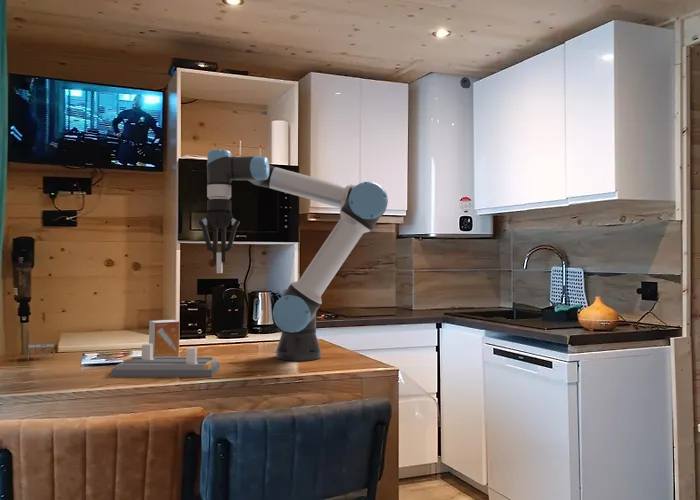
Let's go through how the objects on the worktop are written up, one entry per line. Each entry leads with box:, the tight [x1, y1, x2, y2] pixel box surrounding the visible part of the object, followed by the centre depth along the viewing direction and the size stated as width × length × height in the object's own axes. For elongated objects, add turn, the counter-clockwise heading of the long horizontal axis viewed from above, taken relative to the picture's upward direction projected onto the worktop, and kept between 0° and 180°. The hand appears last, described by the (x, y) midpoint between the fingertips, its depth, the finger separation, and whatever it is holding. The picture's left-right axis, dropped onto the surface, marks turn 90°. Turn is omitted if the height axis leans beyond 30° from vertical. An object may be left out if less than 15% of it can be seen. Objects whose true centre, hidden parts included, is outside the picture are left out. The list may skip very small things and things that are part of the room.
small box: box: [148, 319, 180, 357], centre depth 200 cm, size 8×6×13 cm
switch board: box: [110, 356, 221, 378], centre depth 182 cm, size 28×13×4 cm, turn 92°
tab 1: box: [141, 342, 154, 360], centre depth 185 cm, size 3×3×5 cm
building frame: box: [27, 339, 56, 361], centre depth 202 cm, size 6×8×6 cm
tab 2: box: [185, 346, 198, 364], centre depth 178 cm, size 3×3×5 cm
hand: (219, 272), depth 198 cm, fingers closed
